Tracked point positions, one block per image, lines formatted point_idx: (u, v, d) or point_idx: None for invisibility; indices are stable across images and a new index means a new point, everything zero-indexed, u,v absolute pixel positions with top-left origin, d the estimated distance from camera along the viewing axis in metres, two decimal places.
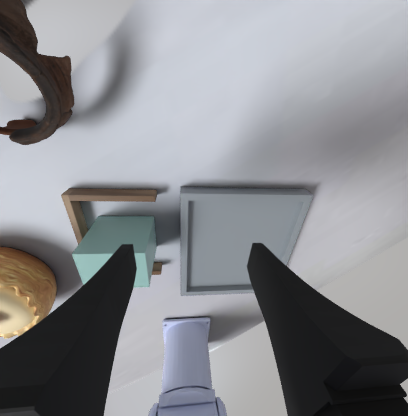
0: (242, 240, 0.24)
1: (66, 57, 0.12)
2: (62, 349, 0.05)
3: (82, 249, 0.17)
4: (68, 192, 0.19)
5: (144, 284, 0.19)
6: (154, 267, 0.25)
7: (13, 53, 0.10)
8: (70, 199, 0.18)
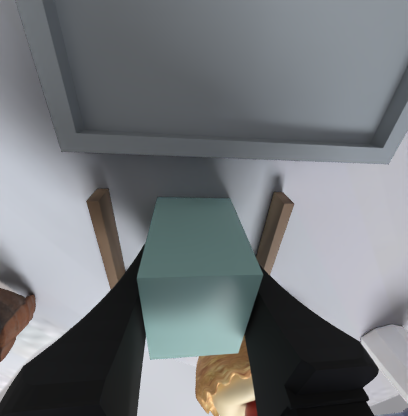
0: None
1: None
2: (111, 346, 0.05)
3: None
4: None
5: (251, 282, 0.07)
6: (276, 210, 0.12)
7: None
8: None
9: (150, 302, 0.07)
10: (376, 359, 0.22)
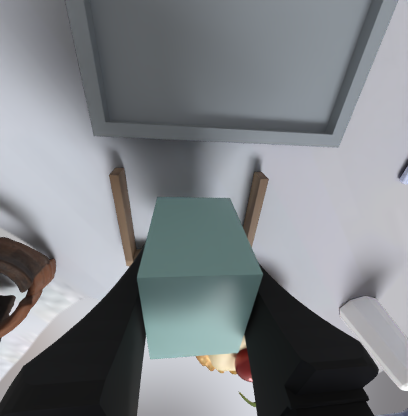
0: None
1: None
2: (111, 346, 0.05)
3: None
4: None
5: (251, 282, 0.07)
6: (255, 186, 0.15)
7: None
8: (131, 260, 0.17)
9: (150, 301, 0.07)
10: (351, 326, 0.26)
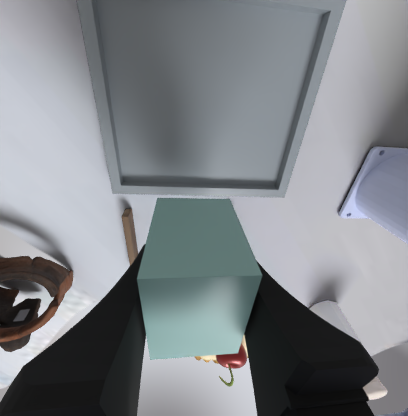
0: (192, 101, 0.15)
1: None
2: (111, 346, 0.05)
3: None
4: None
5: (250, 283, 0.07)
6: None
7: None
8: None
9: (150, 302, 0.07)
10: None
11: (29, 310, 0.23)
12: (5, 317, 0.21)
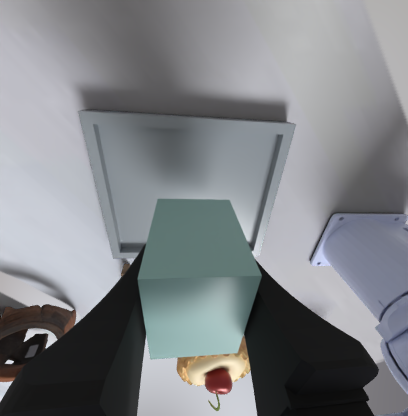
0: (177, 191, 0.18)
1: (5, 309, 0.21)
2: (111, 346, 0.05)
3: None
4: None
5: (250, 283, 0.07)
6: None
7: None
8: None
9: (150, 303, 0.07)
10: None
11: (38, 345, 0.26)
12: (18, 354, 0.25)
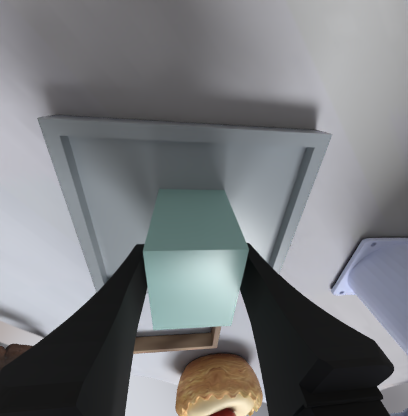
0: None
1: None
2: (93, 347, 0.05)
3: None
4: None
5: (239, 256, 0.09)
6: None
7: None
8: None
9: (154, 273, 0.09)
10: None
11: None
12: None
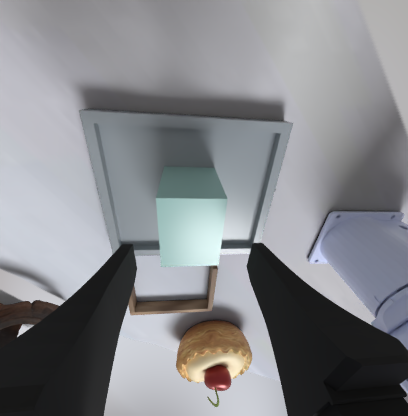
0: None
1: None
2: (62, 349, 0.05)
3: None
4: None
5: (221, 204, 0.13)
6: (211, 269, 0.24)
7: None
8: (133, 312, 0.26)
9: (162, 216, 0.13)
10: None
11: None
12: None
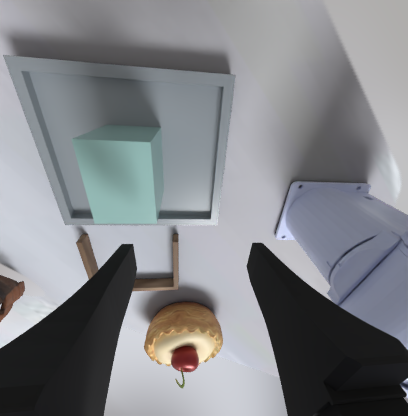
0: None
1: None
2: (62, 349, 0.05)
3: None
4: None
5: (145, 149, 0.12)
6: None
7: None
8: None
9: (83, 162, 0.12)
10: None
11: None
12: None
